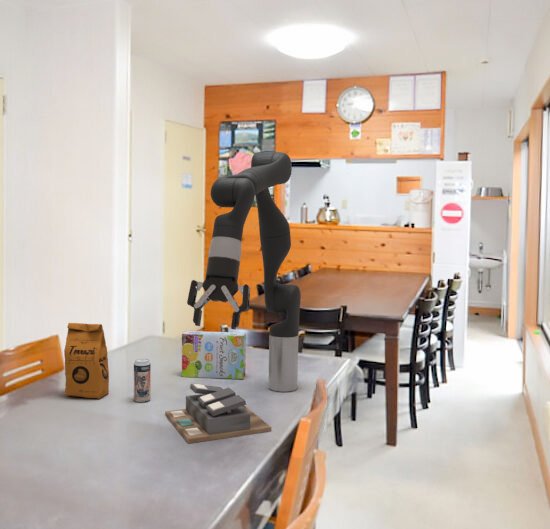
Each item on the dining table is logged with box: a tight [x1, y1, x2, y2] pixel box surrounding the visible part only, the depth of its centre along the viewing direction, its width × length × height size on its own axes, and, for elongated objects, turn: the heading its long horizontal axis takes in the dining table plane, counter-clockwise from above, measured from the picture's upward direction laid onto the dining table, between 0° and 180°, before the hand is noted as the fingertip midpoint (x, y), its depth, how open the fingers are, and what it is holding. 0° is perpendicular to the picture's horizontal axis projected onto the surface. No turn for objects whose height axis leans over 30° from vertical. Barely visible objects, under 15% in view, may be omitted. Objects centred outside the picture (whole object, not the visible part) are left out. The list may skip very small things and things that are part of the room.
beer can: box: [133, 358, 152, 403], centre depth 178 cm, size 5×5×12 cm
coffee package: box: [63, 322, 110, 400], centre depth 181 cm, size 10×12×22 cm
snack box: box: [181, 330, 247, 380], centre depth 205 cm, size 21×6×15 cm, turn 84°
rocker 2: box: [198, 387, 237, 408], centre depth 160 cm, size 5×9×2 cm, turn 115°
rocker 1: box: [189, 383, 224, 395], centre depth 166 cm, size 5×9×2 cm, turn 115°
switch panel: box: [164, 393, 272, 445], centre depth 160 cm, size 22×22×5 cm
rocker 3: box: [206, 394, 247, 416], centre depth 154 cm, size 5×9×2 cm, turn 115°
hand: (215, 327), depth 139 cm, fingers open, 8 cm apart
